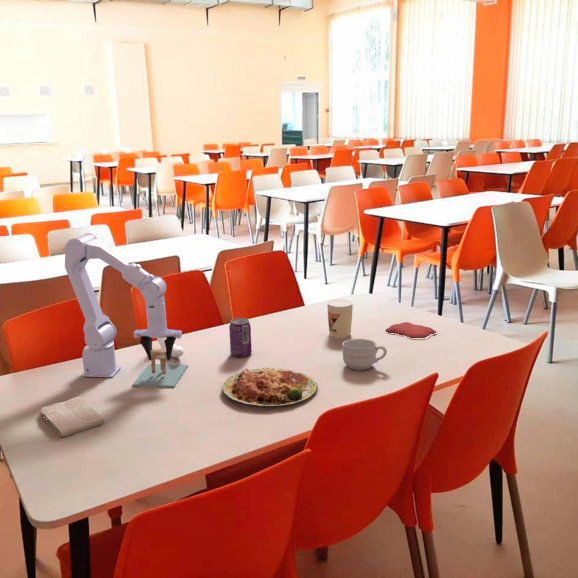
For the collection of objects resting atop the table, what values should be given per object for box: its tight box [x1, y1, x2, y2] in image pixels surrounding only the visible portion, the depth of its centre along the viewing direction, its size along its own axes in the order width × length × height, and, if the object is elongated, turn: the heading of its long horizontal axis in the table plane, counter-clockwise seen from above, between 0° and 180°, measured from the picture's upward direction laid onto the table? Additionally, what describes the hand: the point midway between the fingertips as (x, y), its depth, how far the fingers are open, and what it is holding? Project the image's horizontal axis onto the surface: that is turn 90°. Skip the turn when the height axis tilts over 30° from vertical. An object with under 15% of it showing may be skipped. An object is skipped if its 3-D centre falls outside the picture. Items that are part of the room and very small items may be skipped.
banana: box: [156, 338, 185, 358], centre depth 207 cm, size 5×19×15 cm, turn 38°
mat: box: [132, 363, 189, 388], centre depth 193 cm, size 13×16×1 cm
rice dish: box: [221, 367, 318, 407], centre depth 181 cm, size 28×28×5 cm
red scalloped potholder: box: [384, 321, 437, 338], centre depth 227 cm, size 18×14×2 cm
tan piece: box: [150, 347, 167, 374], centre depth 191 cm, size 5×5×7 cm
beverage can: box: [228, 317, 252, 358], centre depth 207 cm, size 7×7×12 cm
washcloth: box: [40, 396, 105, 438], centre depth 166 cm, size 12×18×3 cm, turn 40°
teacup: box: [341, 338, 388, 371], centre depth 195 cm, size 14×11×8 cm
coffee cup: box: [326, 299, 354, 339], centre depth 224 cm, size 9×9×12 cm
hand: (159, 359), depth 191 cm, fingers closed on tan piece, 5 cm apart
